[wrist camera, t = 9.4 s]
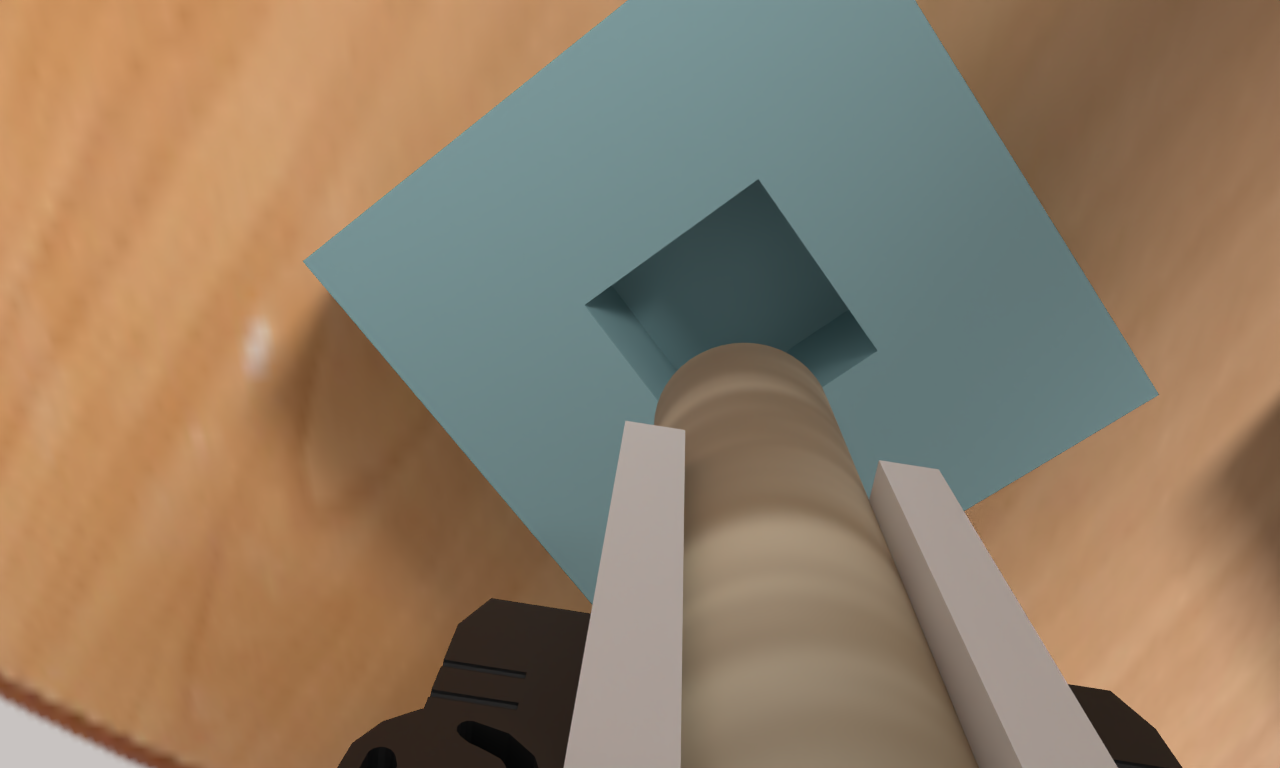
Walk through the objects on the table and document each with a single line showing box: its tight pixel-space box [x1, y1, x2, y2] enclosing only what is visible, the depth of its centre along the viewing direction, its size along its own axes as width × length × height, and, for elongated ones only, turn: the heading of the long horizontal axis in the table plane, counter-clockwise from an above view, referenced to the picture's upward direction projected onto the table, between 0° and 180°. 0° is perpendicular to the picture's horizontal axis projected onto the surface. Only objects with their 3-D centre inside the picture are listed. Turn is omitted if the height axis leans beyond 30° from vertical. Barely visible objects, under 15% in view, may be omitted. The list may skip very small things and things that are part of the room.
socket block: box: [303, 0, 1159, 605], centre depth 25 cm, size 14×14×5 cm
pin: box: [654, 343, 979, 768], centre depth 10 cm, size 3×3×13 cm
